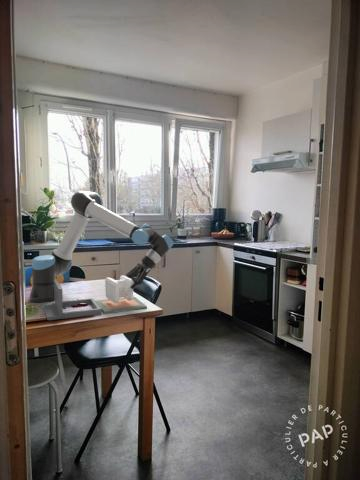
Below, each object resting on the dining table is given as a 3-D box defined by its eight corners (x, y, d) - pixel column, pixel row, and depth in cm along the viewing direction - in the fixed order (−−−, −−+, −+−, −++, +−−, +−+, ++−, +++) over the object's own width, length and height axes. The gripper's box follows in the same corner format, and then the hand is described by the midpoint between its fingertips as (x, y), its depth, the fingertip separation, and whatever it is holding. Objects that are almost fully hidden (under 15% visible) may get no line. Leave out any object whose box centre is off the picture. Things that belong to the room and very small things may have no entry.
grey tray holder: (43, 307, 173) (43, 280, 172) (92, 302, 184) (92, 277, 183) (47, 320, 155) (47, 290, 154) (101, 313, 166) (101, 285, 164)
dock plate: (95, 302, 184) (95, 300, 184) (134, 298, 194) (134, 296, 194) (104, 313, 167) (104, 311, 167) (146, 308, 176) (146, 306, 176)
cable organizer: (134, 302, 176) (134, 279, 175) (114, 305, 171) (114, 282, 170) (122, 295, 189) (122, 274, 188) (104, 298, 183) (103, 276, 182)
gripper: (164, 267, 176) (135, 300, 171) (147, 260, 197) (121, 289, 192) (154, 258, 173) (124, 291, 168) (138, 251, 194) (112, 280, 189)
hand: (123, 290), depth 180 cm, fingers closed on cable organizer, 11 cm apart
